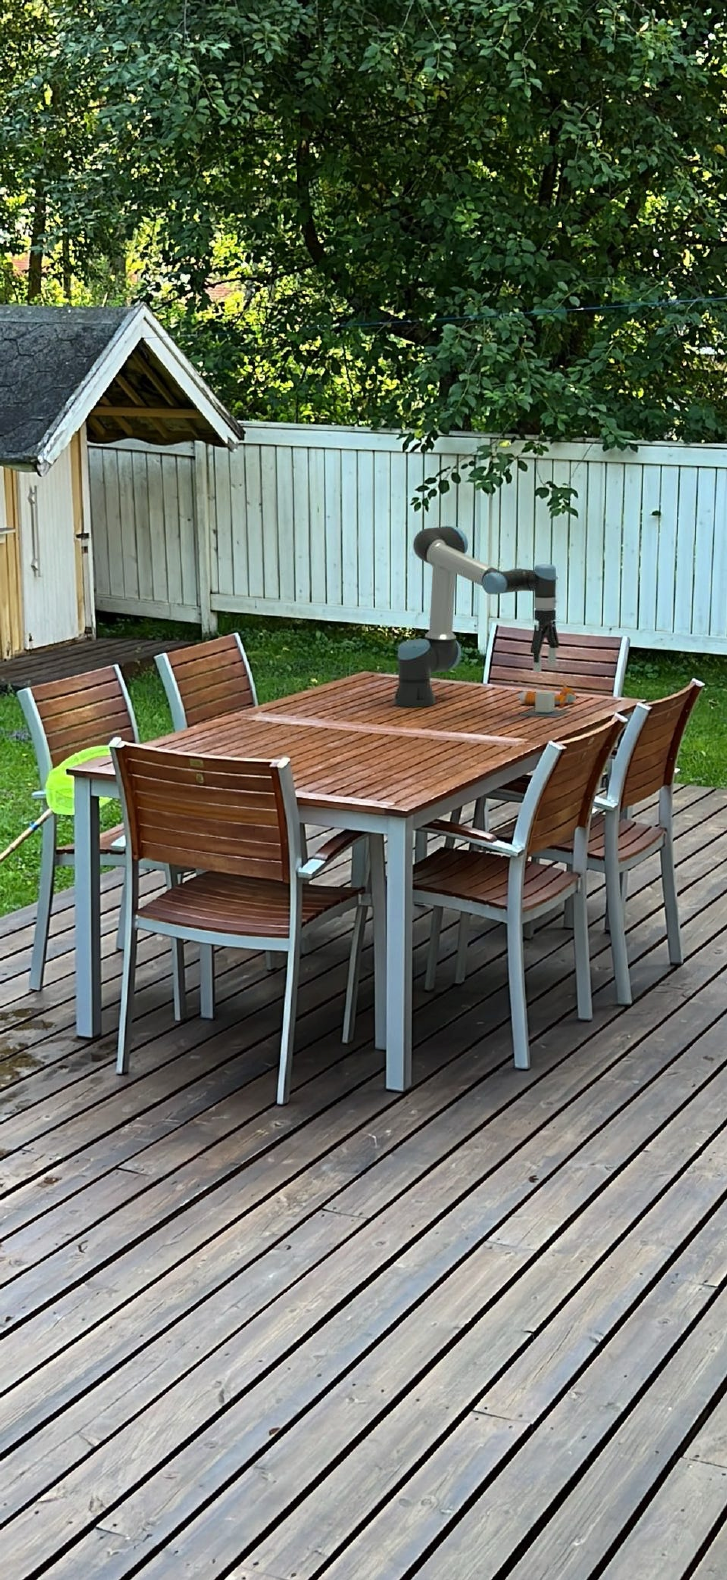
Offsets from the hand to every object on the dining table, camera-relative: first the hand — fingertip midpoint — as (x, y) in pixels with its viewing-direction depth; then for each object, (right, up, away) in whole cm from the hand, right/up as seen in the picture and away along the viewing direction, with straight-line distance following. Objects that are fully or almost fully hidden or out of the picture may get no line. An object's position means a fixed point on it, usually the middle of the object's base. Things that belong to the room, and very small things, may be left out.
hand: (544, 669), depth 635 cm
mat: (0, -16, +3) cm, 16 cm away
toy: (+3, -12, +23) cm, 26 cm away
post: (0, -16, +3) cm, 16 cm away
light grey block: (0, -15, +3) cm, 15 cm away
